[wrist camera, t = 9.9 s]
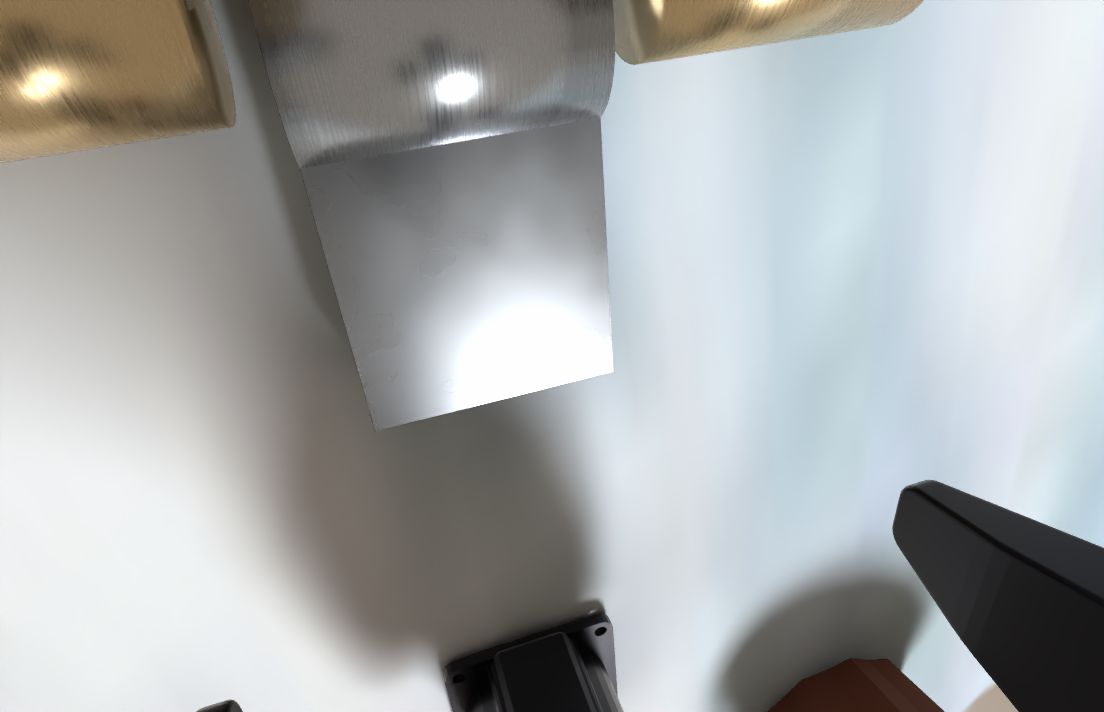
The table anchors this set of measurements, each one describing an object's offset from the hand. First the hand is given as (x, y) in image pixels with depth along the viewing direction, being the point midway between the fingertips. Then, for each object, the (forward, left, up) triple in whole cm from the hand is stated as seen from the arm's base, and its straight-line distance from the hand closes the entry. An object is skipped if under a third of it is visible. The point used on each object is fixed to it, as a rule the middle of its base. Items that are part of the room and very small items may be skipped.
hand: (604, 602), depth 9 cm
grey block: (+3, 0, -11) cm, 11 cm away
